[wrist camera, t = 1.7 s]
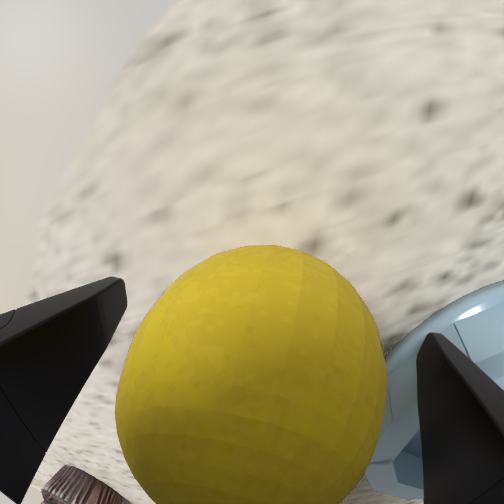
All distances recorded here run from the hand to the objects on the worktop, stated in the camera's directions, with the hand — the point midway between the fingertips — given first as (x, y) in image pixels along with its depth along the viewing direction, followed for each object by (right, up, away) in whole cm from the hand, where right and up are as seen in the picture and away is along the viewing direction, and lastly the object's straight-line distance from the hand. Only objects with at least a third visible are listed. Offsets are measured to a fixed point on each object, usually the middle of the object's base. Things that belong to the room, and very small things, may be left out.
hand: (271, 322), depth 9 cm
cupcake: (-19, -25, +18) cm, 36 cm away
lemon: (0, +1, +2) cm, 2 cm away
